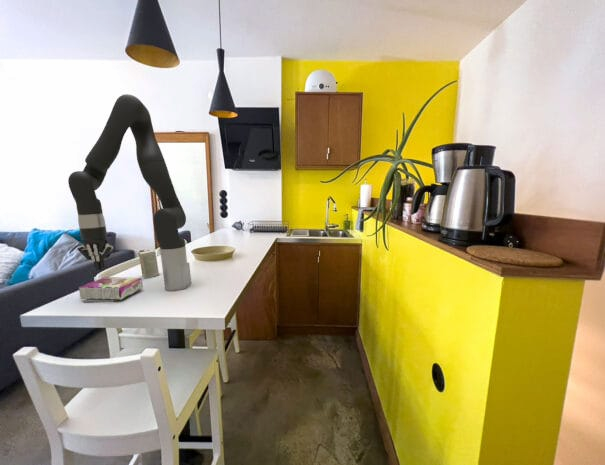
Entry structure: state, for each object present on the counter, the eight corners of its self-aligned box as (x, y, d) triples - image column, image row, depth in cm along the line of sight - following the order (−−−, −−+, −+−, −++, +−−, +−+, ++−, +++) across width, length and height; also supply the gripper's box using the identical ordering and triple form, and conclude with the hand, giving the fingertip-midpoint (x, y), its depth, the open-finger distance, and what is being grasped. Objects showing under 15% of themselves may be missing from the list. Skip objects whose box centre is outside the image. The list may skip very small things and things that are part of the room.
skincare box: (156, 273, 118) (153, 249, 116) (159, 275, 115) (156, 250, 113) (141, 276, 113) (138, 252, 111) (143, 279, 110) (140, 253, 108)
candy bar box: (104, 276, 98) (142, 277, 97) (106, 287, 99) (143, 288, 98) (77, 286, 87) (119, 287, 86) (79, 299, 88) (121, 300, 87)
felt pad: (139, 287, 101) (138, 285, 101) (113, 302, 87) (113, 300, 87) (113, 287, 101) (112, 285, 101) (83, 302, 87) (83, 300, 87)
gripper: (117, 224, 94) (124, 266, 97) (84, 225, 94) (91, 267, 96) (102, 227, 86) (109, 272, 89) (65, 227, 86) (74, 273, 89)
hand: (100, 269), depth 93 cm, fingers closed
